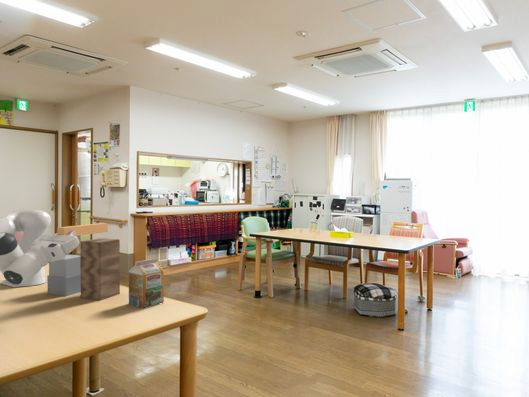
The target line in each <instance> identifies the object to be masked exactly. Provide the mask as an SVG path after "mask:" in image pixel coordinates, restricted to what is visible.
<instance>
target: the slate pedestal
mask: <svg viewBox="0 0 529 397" xmlns="http://www.w3.org/2000/svg"><path fill="white" fill-rule="evenodd" d="M46 278H47V280H46V282H47V294H49V295H56V296H63V297H67V296H71V295H74V294H78V293H81V267H80V254H79V255H78V254H77V255H76V254H66V257H65V258H64V259H62V260H57V261H53V262H49V263H48V275H47V277H46Z"/></svg>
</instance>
